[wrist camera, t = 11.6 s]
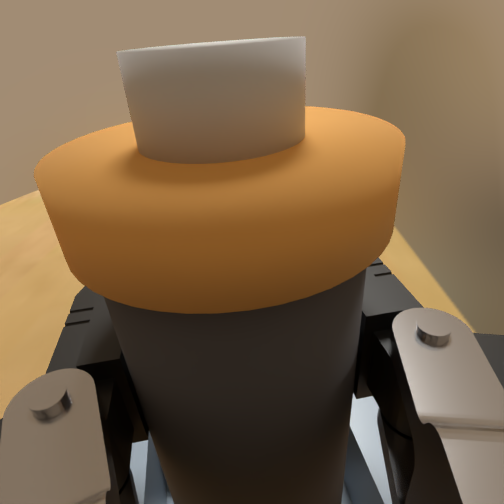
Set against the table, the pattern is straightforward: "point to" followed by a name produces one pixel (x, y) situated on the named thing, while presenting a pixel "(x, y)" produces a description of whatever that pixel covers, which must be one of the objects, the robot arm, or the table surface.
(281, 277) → the grey and orange bottle
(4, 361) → the table surface
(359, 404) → the end holder
